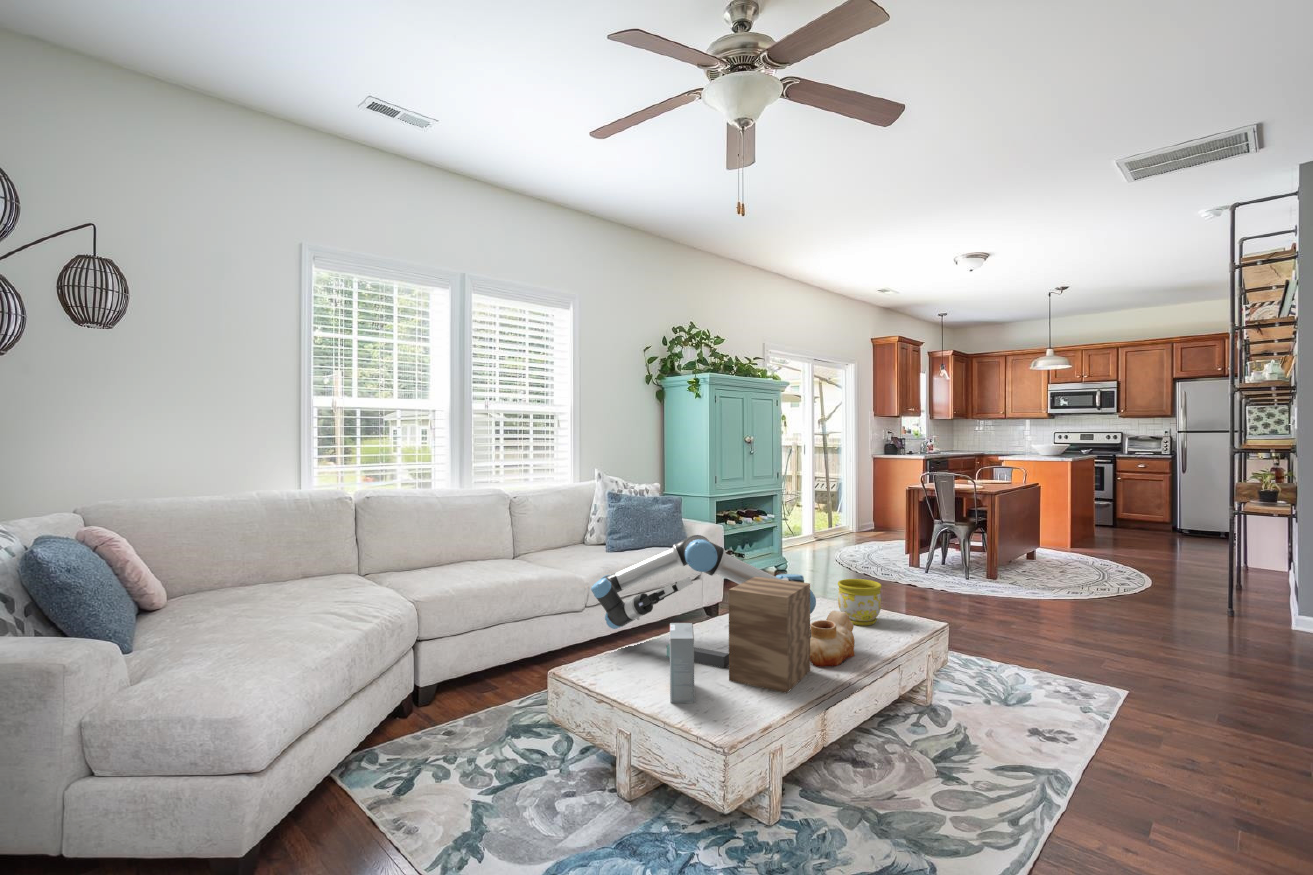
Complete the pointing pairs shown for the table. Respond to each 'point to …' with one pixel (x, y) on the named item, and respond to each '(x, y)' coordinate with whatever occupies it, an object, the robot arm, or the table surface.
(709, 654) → the bar
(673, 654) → the hard drive box
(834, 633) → the ceramic vessel
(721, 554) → the robot arm
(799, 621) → the upright wooden block
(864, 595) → the flowerpot
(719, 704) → the table surface
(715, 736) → the table surface
